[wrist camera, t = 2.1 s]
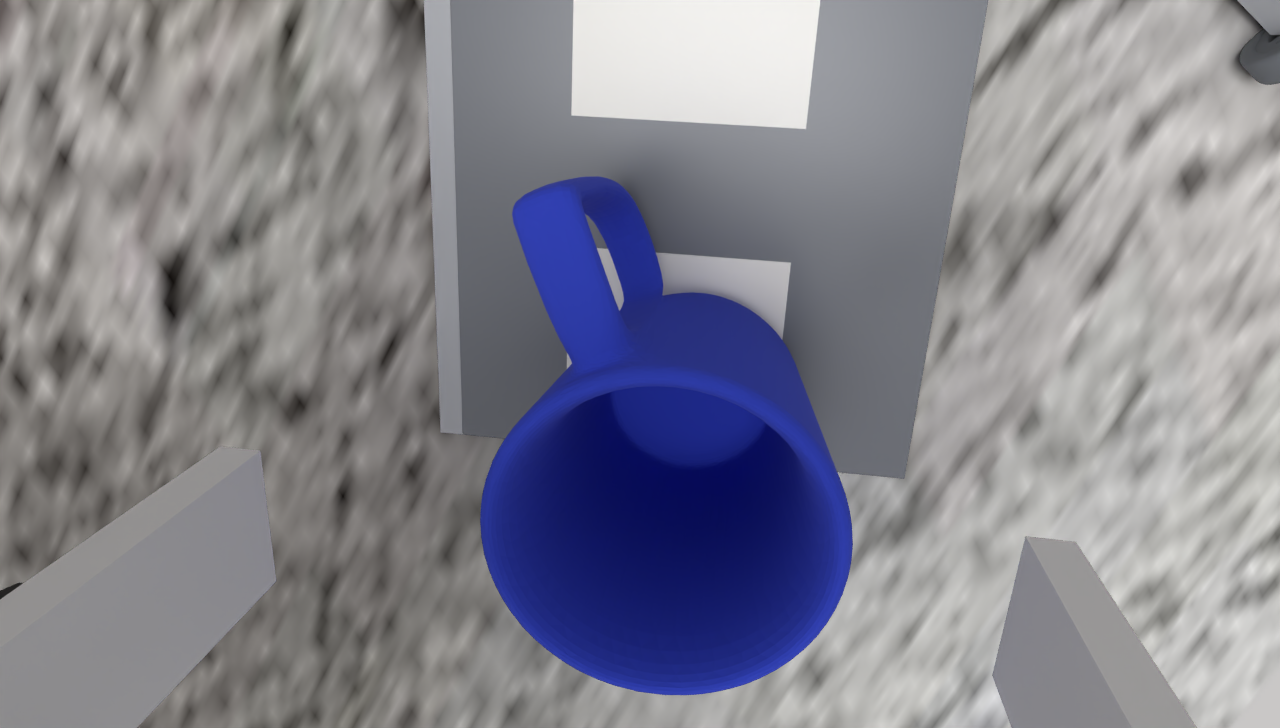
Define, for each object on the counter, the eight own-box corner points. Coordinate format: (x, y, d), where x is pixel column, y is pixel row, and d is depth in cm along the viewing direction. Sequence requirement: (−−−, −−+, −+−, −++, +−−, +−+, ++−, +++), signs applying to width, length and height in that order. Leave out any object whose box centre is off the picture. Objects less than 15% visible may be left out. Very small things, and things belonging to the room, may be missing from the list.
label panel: (445, 427, 30) (440, 432, 29) (424, -151, 24) (417, -156, 23) (901, 472, 28) (904, 479, 28) (1007, -137, 22) (1013, -142, 21)
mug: (738, 102, 24) (728, 122, 15) (848, 460, 28) (896, 660, 18) (488, 193, 26) (339, 263, 17) (620, 518, 29) (557, 727, 20)
